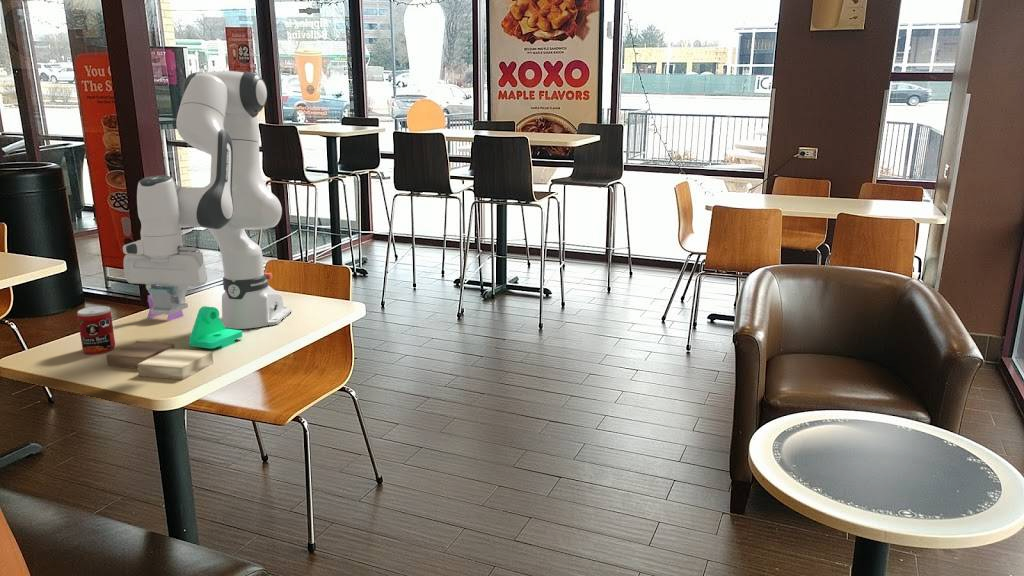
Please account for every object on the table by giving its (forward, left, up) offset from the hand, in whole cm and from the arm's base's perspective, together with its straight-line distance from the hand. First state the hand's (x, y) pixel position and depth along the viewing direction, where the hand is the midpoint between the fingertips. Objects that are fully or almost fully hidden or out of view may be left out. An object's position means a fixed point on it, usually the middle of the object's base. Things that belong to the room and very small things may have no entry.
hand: (168, 302), depth 184 cm
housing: (0, 0, -2) cm, 2 cm away
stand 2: (0, 0, -17) cm, 17 cm away
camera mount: (-20, -2, -17) cm, 27 cm away
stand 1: (-4, -13, -17) cm, 22 cm away
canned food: (-9, -30, -17) cm, 36 cm away
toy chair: (-40, -33, -17) cm, 55 cm away
